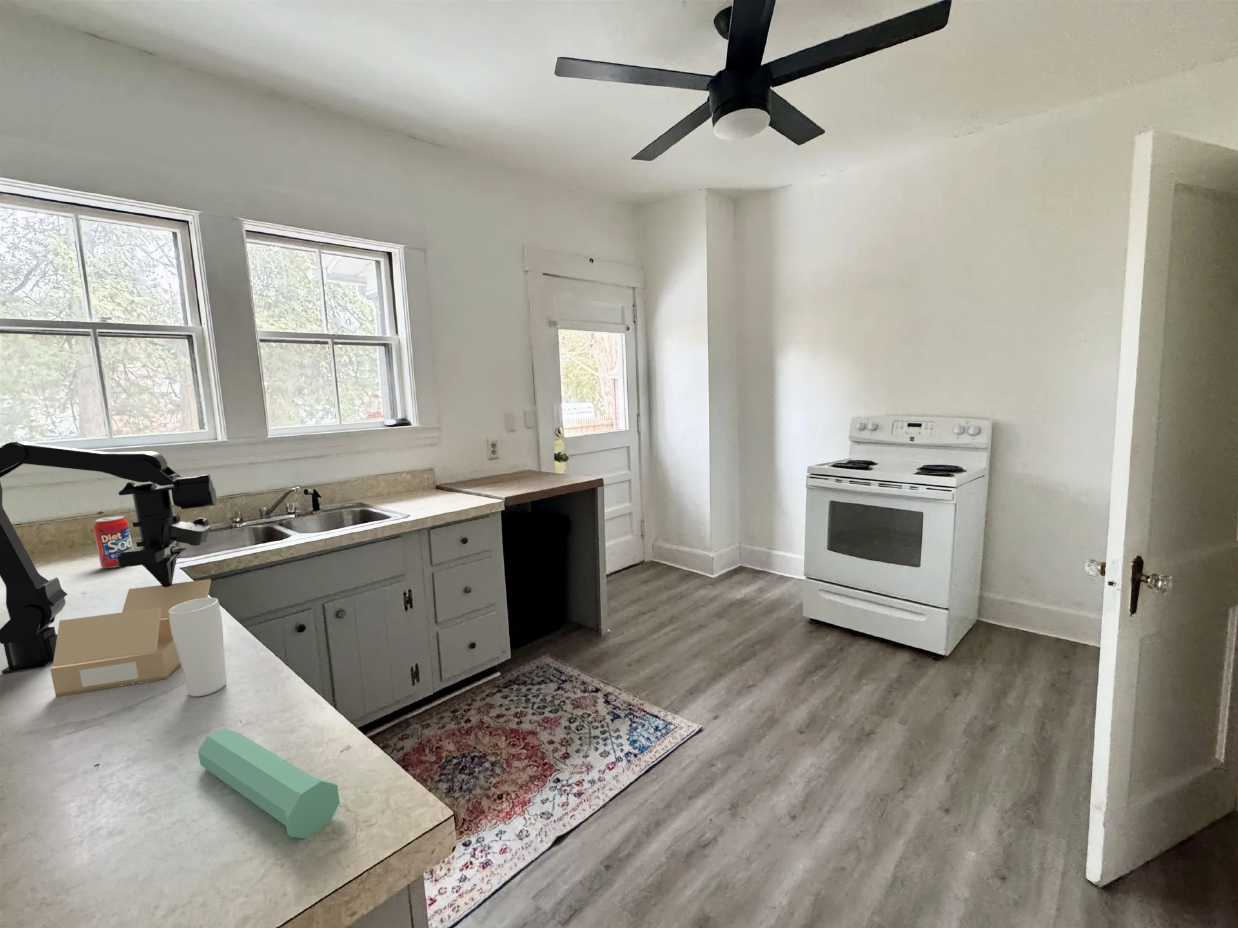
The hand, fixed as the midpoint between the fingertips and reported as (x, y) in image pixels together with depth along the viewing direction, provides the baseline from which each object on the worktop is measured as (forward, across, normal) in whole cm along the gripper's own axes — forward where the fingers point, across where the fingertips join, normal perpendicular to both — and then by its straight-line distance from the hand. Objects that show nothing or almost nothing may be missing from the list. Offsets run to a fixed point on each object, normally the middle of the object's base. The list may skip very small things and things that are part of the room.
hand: (167, 586), depth 115 cm
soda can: (+10, +68, +44) cm, 82 cm away
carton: (+11, -13, 0) cm, 17 cm away
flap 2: (+3, -1, 0) cm, 3 cm away
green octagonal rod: (+12, -60, -35) cm, 70 cm away
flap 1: (+2, -20, 0) cm, 20 cm away
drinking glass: (+11, -29, -17) cm, 35 cm away
